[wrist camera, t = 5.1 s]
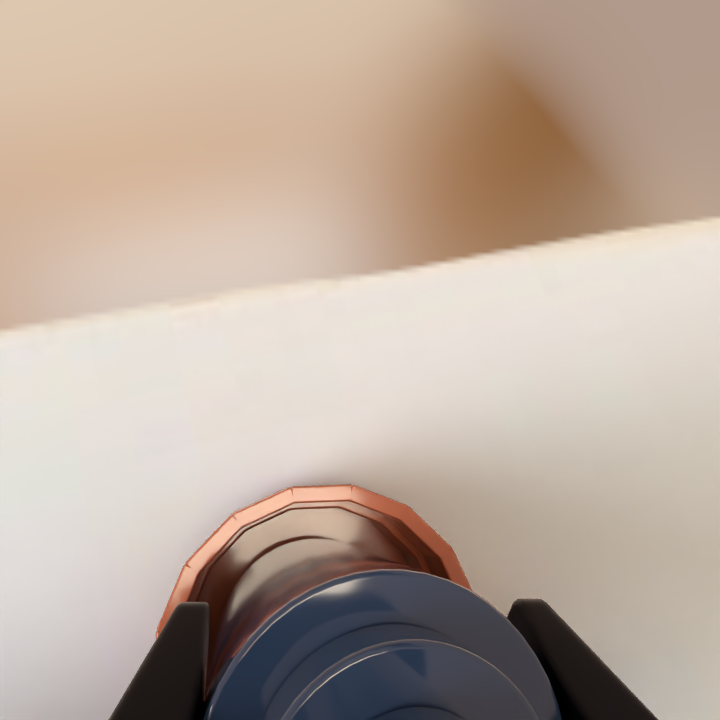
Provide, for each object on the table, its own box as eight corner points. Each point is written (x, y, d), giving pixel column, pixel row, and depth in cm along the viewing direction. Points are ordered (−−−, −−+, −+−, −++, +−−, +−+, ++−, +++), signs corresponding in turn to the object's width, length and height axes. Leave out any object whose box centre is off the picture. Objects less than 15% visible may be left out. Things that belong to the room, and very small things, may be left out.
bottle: (368, 766, 14) (892, 1844, 3) (185, 703, 14) (-90, 1651, 2) (427, 575, 15) (962, 768, 4) (261, 512, 15) (321, 526, 4)
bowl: (385, 803, 15) (425, 887, 12) (127, 716, 15) (93, 779, 11) (464, 539, 17) (519, 548, 14) (237, 452, 16) (236, 439, 13)
